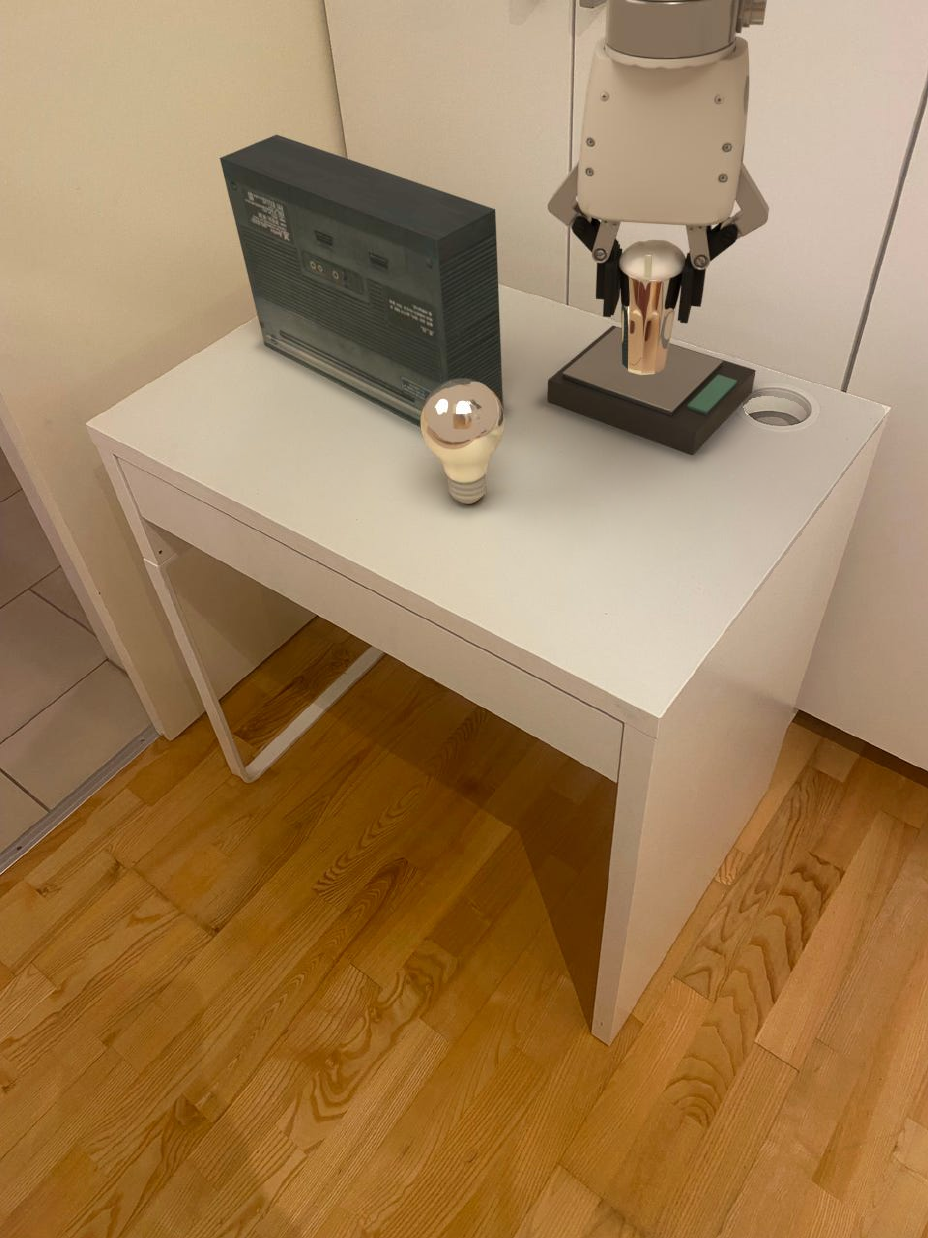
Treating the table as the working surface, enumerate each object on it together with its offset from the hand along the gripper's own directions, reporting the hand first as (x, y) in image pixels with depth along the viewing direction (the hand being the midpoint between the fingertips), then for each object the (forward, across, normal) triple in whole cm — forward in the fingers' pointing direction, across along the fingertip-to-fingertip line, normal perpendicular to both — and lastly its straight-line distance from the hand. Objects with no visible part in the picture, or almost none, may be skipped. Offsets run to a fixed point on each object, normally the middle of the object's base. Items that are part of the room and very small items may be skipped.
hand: (647, 307), depth 68 cm
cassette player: (+20, +29, -17) cm, 39 cm away
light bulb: (+20, +14, +1) cm, 24 cm away
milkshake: (+5, 0, 0) cm, 5 cm away
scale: (+19, +1, -18) cm, 26 cm away
